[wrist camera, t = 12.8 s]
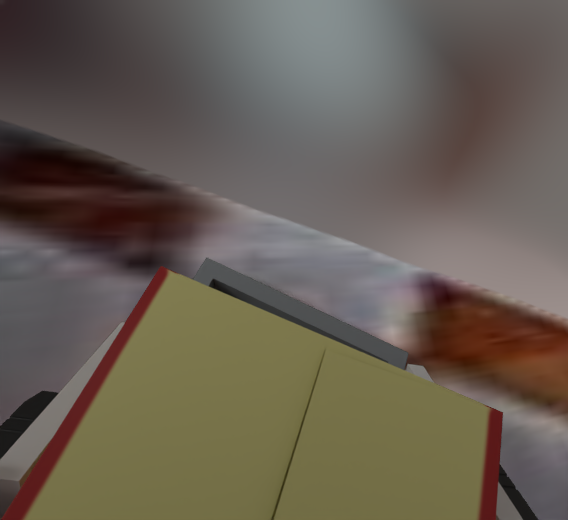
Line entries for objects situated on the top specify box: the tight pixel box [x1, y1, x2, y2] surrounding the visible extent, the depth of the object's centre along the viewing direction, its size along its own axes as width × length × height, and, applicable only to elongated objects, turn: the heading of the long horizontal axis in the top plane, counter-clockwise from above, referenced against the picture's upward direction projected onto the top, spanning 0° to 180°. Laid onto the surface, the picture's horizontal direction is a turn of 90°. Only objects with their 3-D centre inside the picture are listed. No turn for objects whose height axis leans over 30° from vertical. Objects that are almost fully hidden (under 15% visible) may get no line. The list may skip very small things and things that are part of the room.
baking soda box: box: [1, 266, 503, 520], centre depth 13 cm, size 10×6×16 cm
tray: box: [193, 257, 408, 370], centre depth 20 cm, size 16×16×4 cm
